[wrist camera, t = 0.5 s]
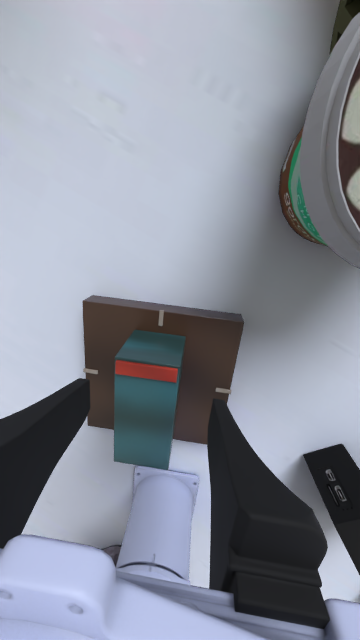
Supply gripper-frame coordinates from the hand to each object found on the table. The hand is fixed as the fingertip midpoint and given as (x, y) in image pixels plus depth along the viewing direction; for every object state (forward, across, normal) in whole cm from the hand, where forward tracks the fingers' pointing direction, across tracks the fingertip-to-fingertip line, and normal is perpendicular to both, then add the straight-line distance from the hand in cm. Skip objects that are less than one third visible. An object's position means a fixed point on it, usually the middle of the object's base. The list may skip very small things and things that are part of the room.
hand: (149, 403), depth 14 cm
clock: (+10, +1, +4) cm, 11 cm away
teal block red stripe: (+8, +1, +4) cm, 9 cm away
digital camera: (+10, -21, +15) cm, 28 cm away
